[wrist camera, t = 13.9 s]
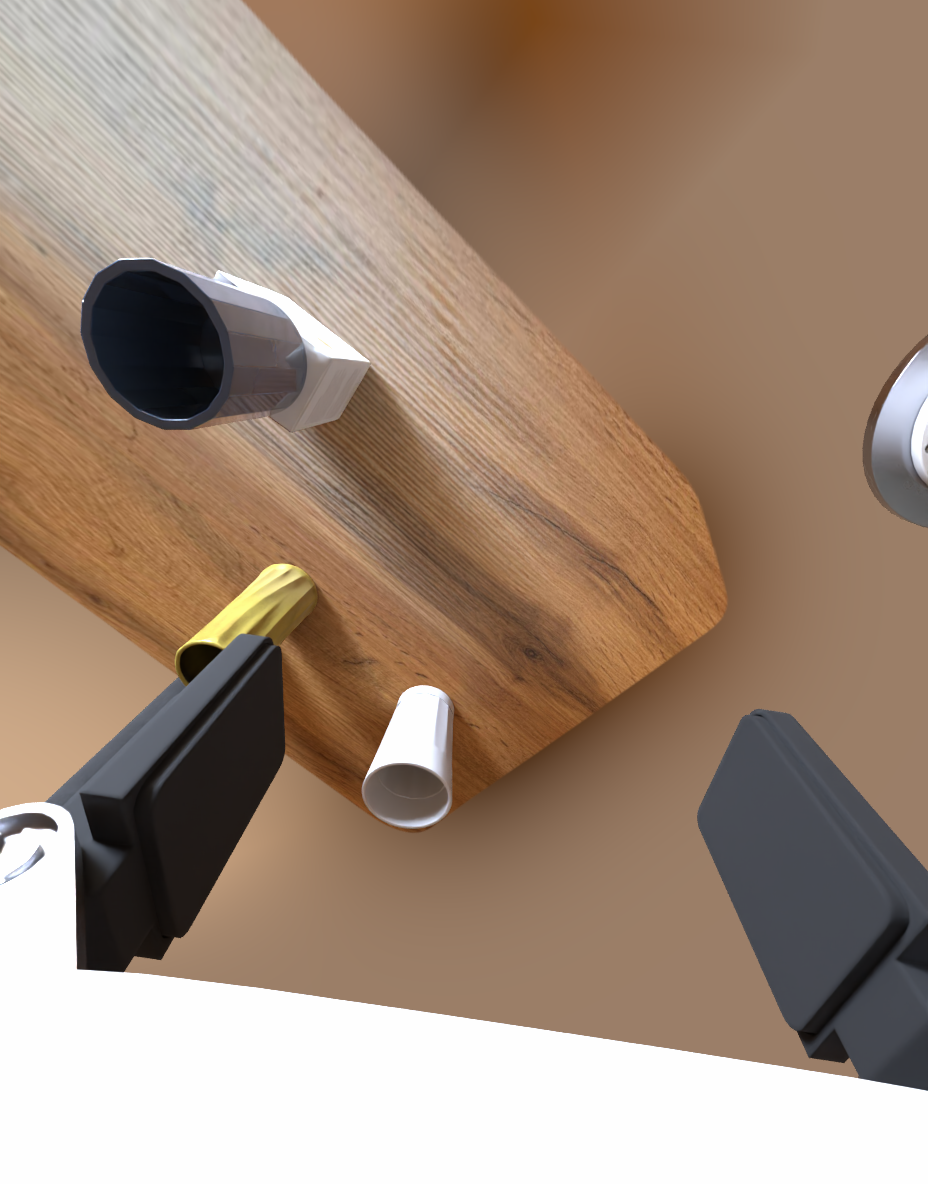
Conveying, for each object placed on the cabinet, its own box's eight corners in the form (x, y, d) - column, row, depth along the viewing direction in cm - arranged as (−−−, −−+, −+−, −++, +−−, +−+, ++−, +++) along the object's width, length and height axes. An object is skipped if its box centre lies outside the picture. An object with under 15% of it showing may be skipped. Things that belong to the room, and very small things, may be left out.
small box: (256, 359, 39) (176, 353, 29) (287, 294, 37) (213, 266, 27) (339, 422, 40) (290, 436, 31) (374, 363, 38) (333, 359, 29)
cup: (412, 746, 55) (390, 838, 44) (376, 694, 52) (344, 778, 41) (474, 724, 53) (467, 814, 42) (440, 669, 50) (424, 750, 39)
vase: (330, 604, 48) (267, 689, 35) (281, 627, 49) (203, 716, 36) (295, 552, 46) (215, 622, 33) (245, 577, 47) (149, 654, 34)
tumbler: (270, 271, 27) (171, 226, 19) (327, 389, 29) (261, 394, 21) (177, 323, 28) (48, 302, 20) (238, 432, 31) (145, 452, 23)
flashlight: (244, 664, 51) (280, 645, 50) (57, 876, 29) (111, 853, 28) (213, 628, 50) (249, 608, 48) (-9, 825, 28) (45, 798, 27)
